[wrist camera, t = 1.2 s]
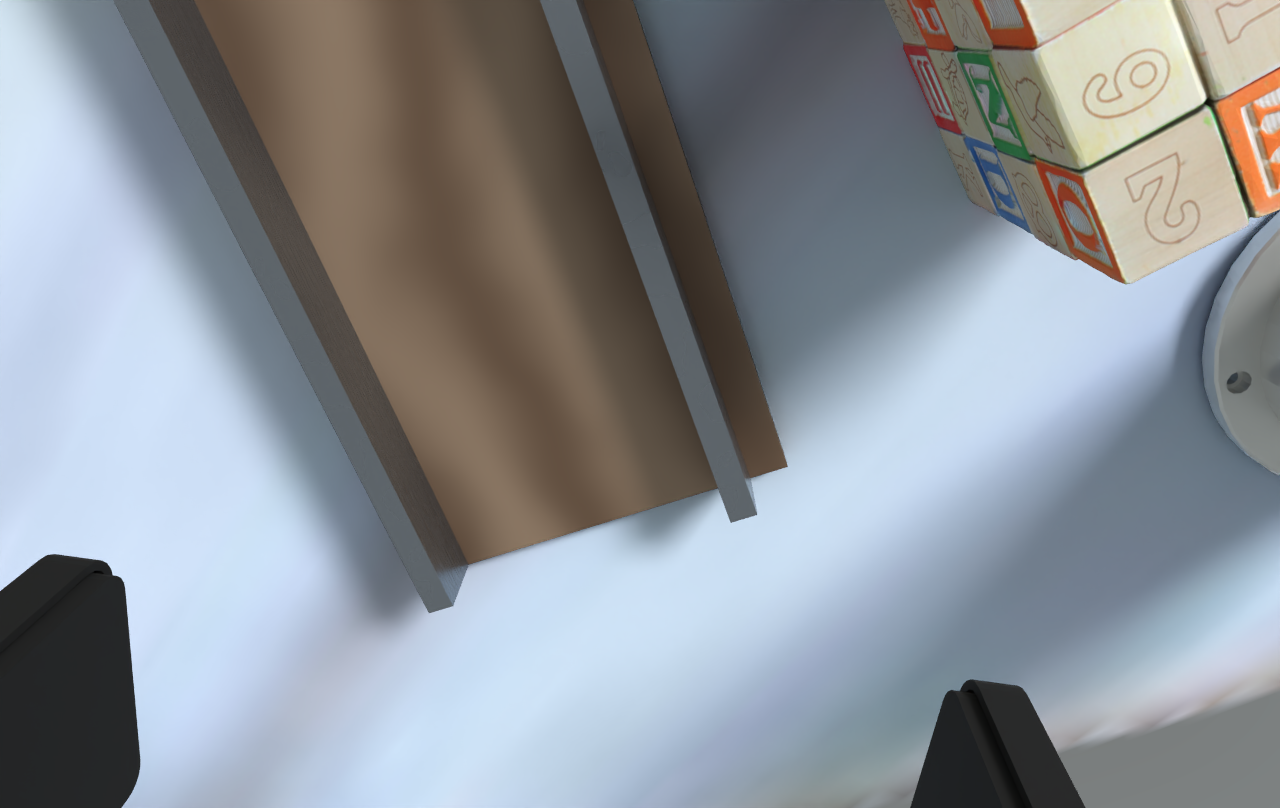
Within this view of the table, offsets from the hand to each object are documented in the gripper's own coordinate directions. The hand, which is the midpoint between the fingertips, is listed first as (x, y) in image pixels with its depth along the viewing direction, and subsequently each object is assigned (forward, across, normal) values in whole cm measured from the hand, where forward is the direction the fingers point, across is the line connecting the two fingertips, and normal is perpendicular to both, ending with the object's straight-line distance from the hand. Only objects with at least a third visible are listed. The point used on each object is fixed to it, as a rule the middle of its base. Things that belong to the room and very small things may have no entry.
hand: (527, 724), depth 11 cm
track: (+25, +7, -2) cm, 26 cm away
